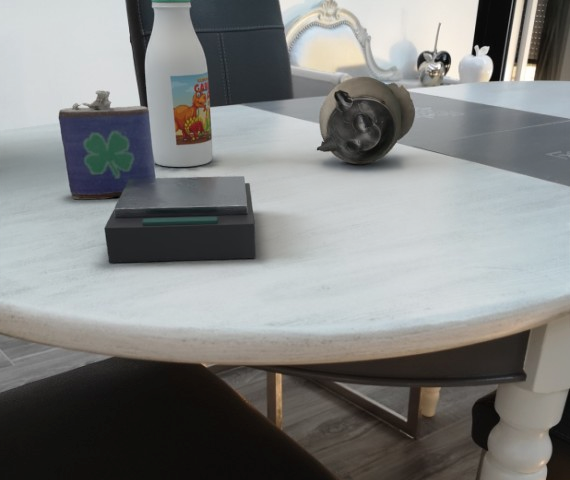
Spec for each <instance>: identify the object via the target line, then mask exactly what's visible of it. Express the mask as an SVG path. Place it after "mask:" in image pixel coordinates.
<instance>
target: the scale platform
mask: <svg viewBox="0 0 570 480" xmlns="http://www.w3.org/2000/svg"><path fill="white" fill-rule="evenodd" d="M245 183H246V179H245V175H234V176H231V175H229V176H227V175H226V176H194V177H193V176H192V177H191V176H187V177H185V176H184V177H156V178H140V179H129V181H128V183H127V184H126V186H125V188H124V190H123V192H122V194H121V196H120V197H118V200H117V202H116V204H115V206H114V208H113V210H114V213H115V218H131V217H168V216H205V215H243V214H247V198H246V188H245Z"/></svg>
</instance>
